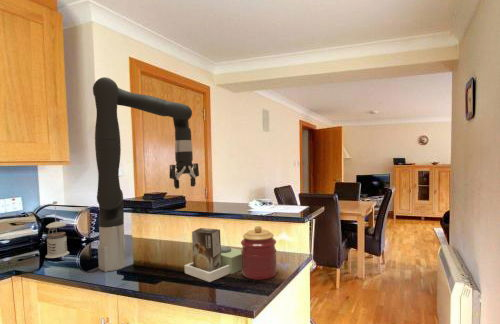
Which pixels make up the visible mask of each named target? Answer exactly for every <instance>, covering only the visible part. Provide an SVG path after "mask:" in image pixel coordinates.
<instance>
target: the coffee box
mask: <svg viewBox="0 0 500 324" xmlns="http://www.w3.org/2000/svg"><path fill="white" fill-rule="evenodd" d="M191 240H192V241H191V242H192V261H193V265H194V267H196V268H199V269H202V270H205V271H208V272H211V271H214V270H216V269H219V268H221V267H222V263H221V245H222V244H221V241H222V240H221V229H217V228H201V227H200V228H197V229H195V230H193V231H191Z"/></svg>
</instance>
